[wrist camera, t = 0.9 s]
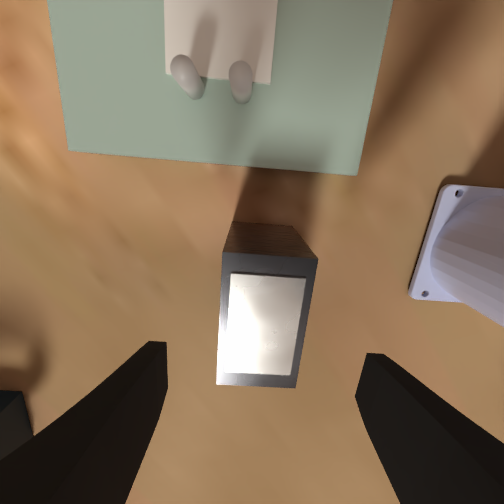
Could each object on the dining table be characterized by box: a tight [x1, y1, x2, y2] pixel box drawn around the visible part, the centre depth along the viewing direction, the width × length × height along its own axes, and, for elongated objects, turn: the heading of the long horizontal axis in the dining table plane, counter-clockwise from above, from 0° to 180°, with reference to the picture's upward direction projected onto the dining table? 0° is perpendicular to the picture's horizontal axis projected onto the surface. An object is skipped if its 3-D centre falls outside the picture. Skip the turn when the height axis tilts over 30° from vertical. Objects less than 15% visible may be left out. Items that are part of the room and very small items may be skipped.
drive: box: [216, 221, 318, 388], centre depth 14 cm, size 4×7×7 cm, turn 175°
